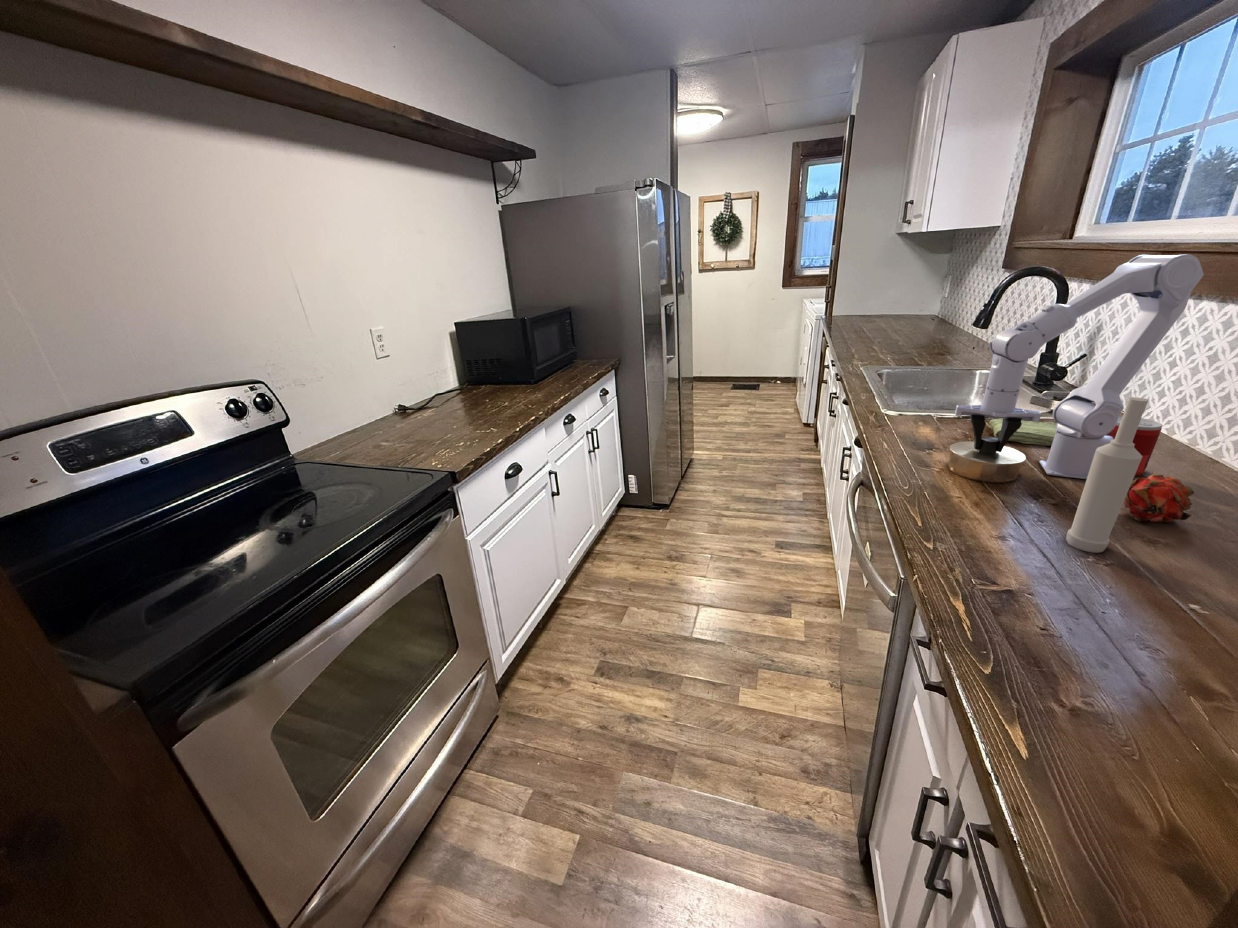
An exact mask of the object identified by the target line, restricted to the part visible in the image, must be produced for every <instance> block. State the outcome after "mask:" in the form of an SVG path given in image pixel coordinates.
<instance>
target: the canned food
mask: <svg viewBox="0 0 1238 928" xmlns="http://www.w3.org/2000/svg"><path fill="white" fill-rule="evenodd" d="M1122 417H1123V416H1118V420H1117V424H1116V426H1115V428H1114V429H1113V430H1112V431H1111V432H1110V433H1108V434H1107V436H1111V437H1113V439H1115V437H1116V434H1117V431H1118V428H1119V426H1120V423H1121V420H1122ZM1162 428H1163V424H1162V423H1160V422H1158V421H1155V420H1153V419H1148V418H1142V417H1141V420H1140V423H1139V425H1138V428H1137V431H1136V433H1135V436H1134V439H1133V443H1134V444H1135V445H1134V448H1135V449H1136V450H1137V451H1138V452H1139V453H1140V454H1141V455H1142V456H1143V457H1142V459H1141V461H1140V464H1139V466H1138V469H1137V471H1136V473H1135V476H1134V477H1136V476H1137V477H1138V476H1141V475H1142V474H1144V473H1145V472H1146V468H1147V467H1148V464H1149V461H1150V459H1151V457H1152V455H1153V452H1154V449H1155V447H1156V444H1157V442H1158V440H1159V437H1160V435H1161V432H1162Z"/></svg>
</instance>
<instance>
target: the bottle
mask: <svg viewBox="0 0 1238 928" xmlns="http://www.w3.org/2000/svg"><path fill="white" fill-rule="evenodd" d="M1148 403H1149V399H1147V398H1143V397H1137V396H1135V397H1133V396H1131V397H1128V400H1127V402H1126V405H1125V408H1124V412H1123V414H1122V416H1121V417H1122V420H1121V423H1120V426H1119V428H1118V431H1117V434H1116V437H1115V439H1114V440H1111V441H1110V443H1109V444H1106V445H1104V446H1101V447H1099V448H1097V449H1096V452H1095V455H1094V458H1093V461H1092V464H1091V467H1090V471H1089V474H1088V477H1087V479H1085V483H1084V486H1083V489H1082V493H1081V496H1080V499H1079V503H1078V505H1077V509H1076V512H1075V515H1074V519H1073V522H1072V525H1071V527H1070V528H1069V529H1068V531H1067V533H1066V536H1065V537H1066V538H1065V539H1066V540H1065V541H1066V543H1067V544H1068V545H1069V546H1071V547H1073V548H1075V549H1077V550H1080V551H1084V552H1088V553H1094V554H1095V553H1098V554H1099V553H1104V551H1105V550H1106V549H1107V547H1108V546H1109V544H1110V542H1111V540H1110V535H1111V532H1112V530H1113V529H1114V527H1115V523H1116V521H1117V519H1118V517H1119V514H1120V511H1121V509H1122V507H1123V504H1124V503H1125V497H1126V495H1127V492H1128V490H1129V488H1130V485H1131V483H1132V481H1133V480H1134V478H1135V477H1136V476H1135V473H1136V471H1137V469H1138V466H1139V464H1140V461H1141V459H1142V457H1143V456H1142V455H1141V454H1140V453H1139V452H1138V451H1137V450H1136V449H1135V448H1134V445H1135V444H1134V443H1133V439H1134V436H1135V433H1136V431H1137V428H1138V425H1139V423H1140V420H1141V418H1142V417H1143V415H1144V413H1145V410H1146V409H1147V405H1148Z"/></svg>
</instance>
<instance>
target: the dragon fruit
mask: <svg viewBox="0 0 1238 928" xmlns="http://www.w3.org/2000/svg"><path fill="white" fill-rule="evenodd" d="M1194 493H1195V491H1194V490H1193V489H1192V487H1190V486H1187V485H1185V484H1183V482H1182V481H1181V480H1180V479H1179V478H1177V477H1174V476H1164V475H1163V474H1158V473H1155V474H1151V475H1149V476H1148V477H1147V478H1144V477H1138V478H1135V479H1133V480H1132V483H1131V485H1130V488H1129V490H1128V492H1127V495H1126V497H1125V500H1124V507H1125V508H1126V509H1129V513H1130V514H1131V517H1132V518H1133V519H1134V520H1135V521H1138V522H1140V523H1142V521H1143V522H1147V521H1150V522H1156V523H1161V522H1164V523H1169V522H1172V521H1175V520H1178V521H1186V520H1188V519H1189V518H1191V517H1192V516H1193V515H1192V514H1191V513H1188V512H1186V511H1189V510H1190V509H1191V508H1192V507H1191V506H1193V502H1192V500H1191V498H1190V497H1192V495H1194Z"/></svg>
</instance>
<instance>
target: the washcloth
mask: <svg viewBox="0 0 1238 928" xmlns="http://www.w3.org/2000/svg"><path fill="white" fill-rule="evenodd" d="M1002 422H1003V418H992V419H991V420H989V426H990V428H991V431H992V432H993V437H994V438H997V439H999V436H1000V432H1001V427H1002ZM1021 423H1022V425H1021V427H1020V428H1019V429H1018V430H1017V431H1016V432H1015V433H1014V434H1013V435H1012V436H1011V437H1010V438H1009V440H1008V441H1007V442H1015V443H1016V442H1017V443H1021V444H1028V445H1029V444H1030V445H1039V446H1048V447H1049V446H1052V443H1053V440H1054V436H1055V433H1056V430H1057V428H1056V424H1057V422H1049V421H1039V422H1032V421H1028V420H1021Z"/></svg>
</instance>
